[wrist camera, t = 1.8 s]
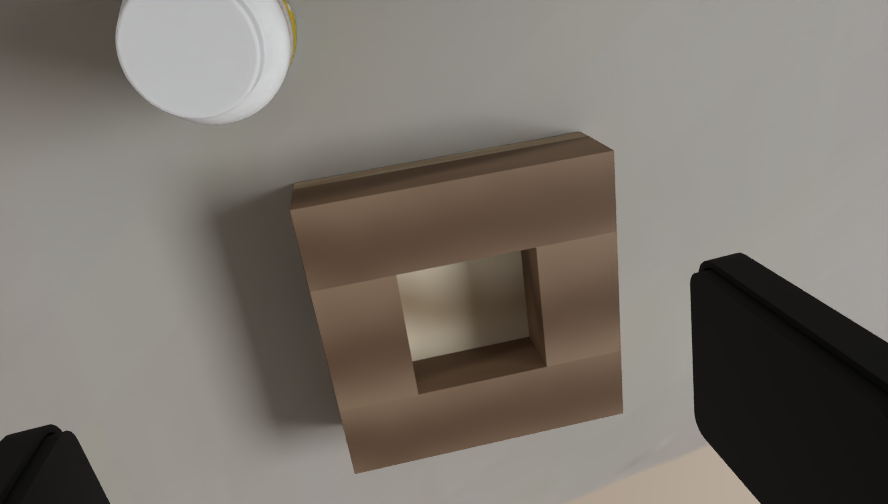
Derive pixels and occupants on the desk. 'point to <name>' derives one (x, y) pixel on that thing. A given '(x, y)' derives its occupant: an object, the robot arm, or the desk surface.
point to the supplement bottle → (206, 54)
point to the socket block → (466, 295)
